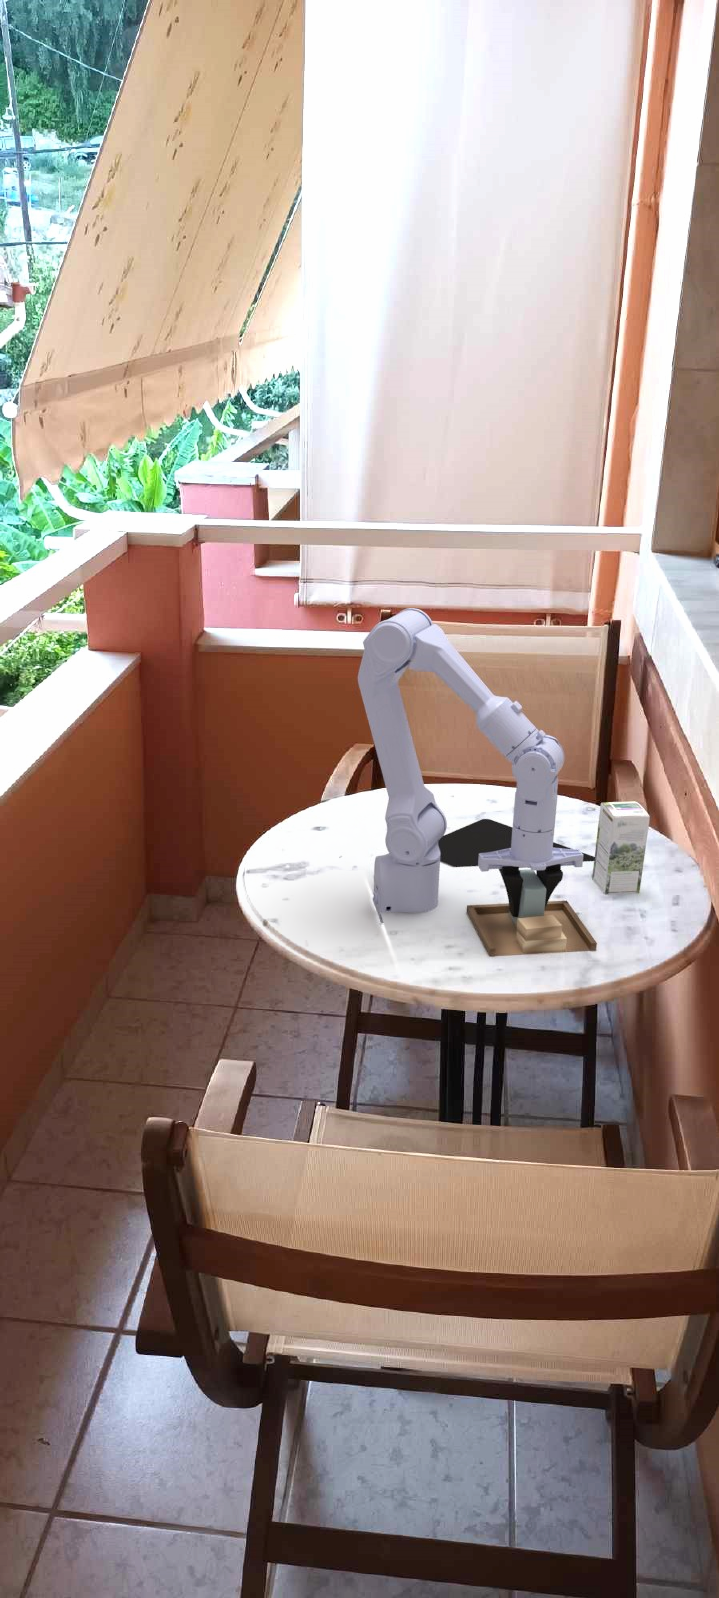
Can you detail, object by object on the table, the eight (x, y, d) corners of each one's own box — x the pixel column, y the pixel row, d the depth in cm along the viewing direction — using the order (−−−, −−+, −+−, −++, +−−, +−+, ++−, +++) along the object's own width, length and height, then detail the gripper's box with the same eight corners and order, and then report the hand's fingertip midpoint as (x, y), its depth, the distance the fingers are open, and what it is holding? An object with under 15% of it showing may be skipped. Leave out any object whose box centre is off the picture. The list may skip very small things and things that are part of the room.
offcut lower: (522, 952, 155) (523, 940, 154) (516, 940, 158) (517, 929, 158) (565, 950, 156) (566, 938, 155) (557, 938, 159) (558, 926, 158)
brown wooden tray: (488, 965, 155) (489, 948, 154) (465, 921, 167) (467, 905, 166) (595, 959, 157) (596, 943, 156) (565, 916, 169) (566, 900, 168)
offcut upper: (525, 941, 154) (526, 929, 154) (516, 930, 157) (517, 918, 157) (561, 937, 156) (562, 925, 155) (551, 926, 159) (552, 914, 158)
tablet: (410, 849, 190) (484, 817, 203) (410, 852, 190) (484, 821, 204) (545, 903, 173) (616, 864, 186) (545, 907, 173) (616, 868, 187)
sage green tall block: (521, 935, 160) (525, 890, 157) (508, 914, 166) (512, 870, 163) (542, 934, 160) (546, 889, 158) (529, 913, 166) (532, 869, 164)
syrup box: (625, 885, 179) (635, 799, 174) (639, 902, 174) (650, 813, 168) (590, 887, 178) (599, 800, 173) (603, 904, 173) (613, 815, 168)
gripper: (489, 838, 153) (483, 929, 158) (594, 834, 155) (584, 923, 160) (476, 818, 159) (471, 905, 164) (577, 814, 161) (568, 901, 166)
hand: (526, 913), depth 162 cm, fingers open, 3 cm apart
